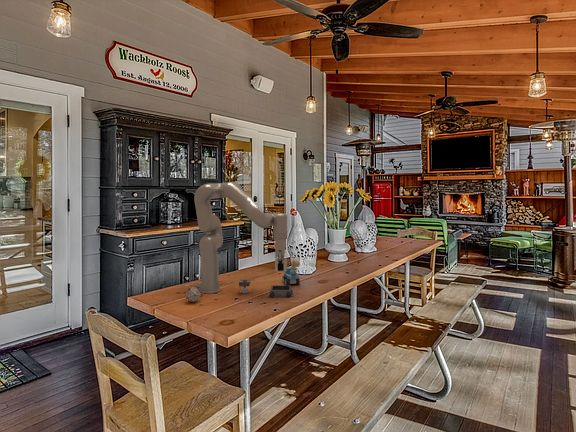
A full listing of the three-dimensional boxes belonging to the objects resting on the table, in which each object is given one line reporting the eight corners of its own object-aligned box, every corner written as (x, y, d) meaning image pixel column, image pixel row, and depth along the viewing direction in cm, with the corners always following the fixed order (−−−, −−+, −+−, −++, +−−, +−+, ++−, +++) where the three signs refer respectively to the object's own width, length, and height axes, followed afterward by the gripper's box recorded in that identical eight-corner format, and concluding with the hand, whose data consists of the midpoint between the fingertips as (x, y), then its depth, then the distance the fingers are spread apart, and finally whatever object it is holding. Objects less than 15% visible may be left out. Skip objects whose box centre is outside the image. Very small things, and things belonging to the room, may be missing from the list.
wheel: (238, 286, 204) (238, 282, 204) (240, 283, 210) (240, 279, 209) (249, 286, 204) (249, 282, 204) (250, 283, 209) (250, 279, 209)
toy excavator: (289, 289, 213) (288, 259, 212) (281, 281, 229) (281, 254, 228) (303, 288, 216) (303, 258, 214) (295, 280, 232) (295, 253, 230)
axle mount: (239, 293, 205) (239, 286, 204) (241, 291, 210) (241, 284, 209) (248, 293, 205) (248, 286, 204) (249, 291, 210) (249, 284, 209)
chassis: (268, 297, 198) (267, 291, 198) (269, 290, 211) (269, 284, 211) (292, 297, 198) (292, 291, 198) (292, 290, 211) (292, 284, 211)
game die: (191, 308, 193) (187, 290, 198) (206, 302, 193) (202, 284, 197) (183, 304, 185) (179, 286, 190) (198, 298, 185) (195, 280, 189)
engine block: (275, 271, 201) (275, 259, 200) (275, 269, 206) (275, 258, 205) (286, 271, 201) (286, 259, 200) (286, 269, 206) (286, 258, 205)
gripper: (274, 234, 210) (274, 266, 212) (272, 238, 193) (272, 273, 195) (287, 234, 210) (288, 265, 212) (287, 238, 193) (287, 273, 195)
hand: (280, 269), depth 203 cm, fingers closed on engine block, 5 cm apart
